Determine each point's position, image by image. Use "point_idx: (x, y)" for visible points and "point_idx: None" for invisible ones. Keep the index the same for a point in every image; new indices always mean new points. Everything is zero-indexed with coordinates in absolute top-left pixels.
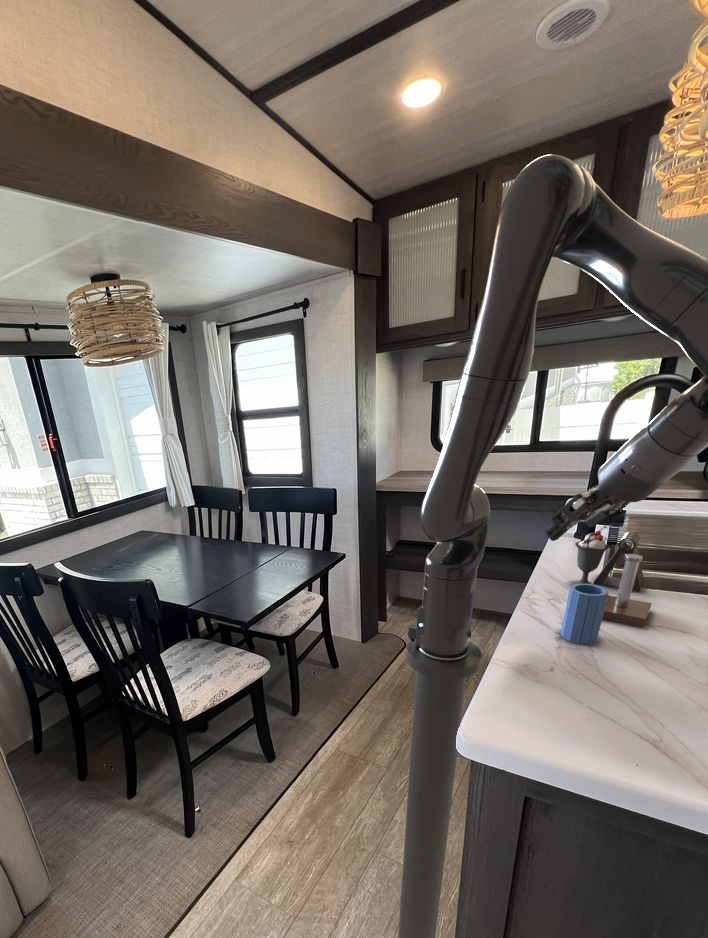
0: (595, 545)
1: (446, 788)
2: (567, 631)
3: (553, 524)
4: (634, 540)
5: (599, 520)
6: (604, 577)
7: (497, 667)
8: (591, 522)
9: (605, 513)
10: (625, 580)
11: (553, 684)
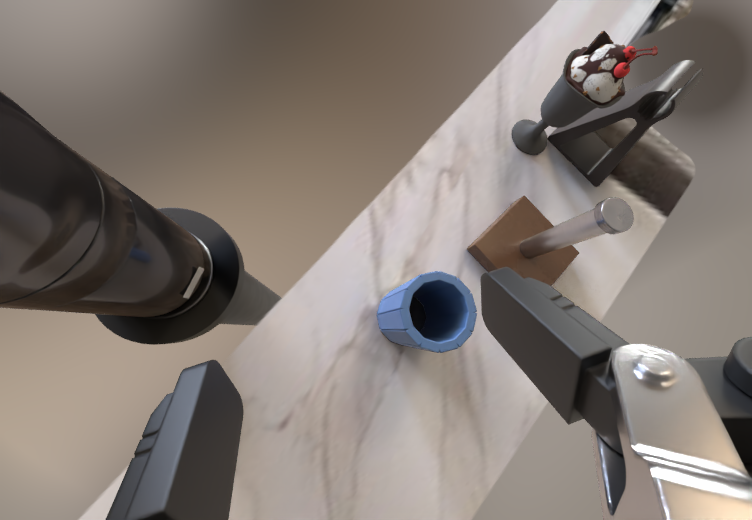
0: (595, 89)
1: (250, 323)
2: (380, 320)
3: (158, 443)
4: (677, 104)
5: (526, 374)
6: (569, 138)
7: None
8: (498, 326)
9: (576, 411)
10: (561, 237)
11: (253, 477)
